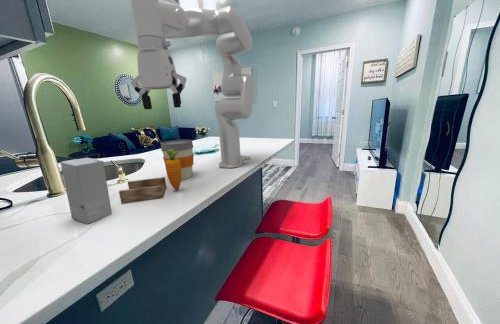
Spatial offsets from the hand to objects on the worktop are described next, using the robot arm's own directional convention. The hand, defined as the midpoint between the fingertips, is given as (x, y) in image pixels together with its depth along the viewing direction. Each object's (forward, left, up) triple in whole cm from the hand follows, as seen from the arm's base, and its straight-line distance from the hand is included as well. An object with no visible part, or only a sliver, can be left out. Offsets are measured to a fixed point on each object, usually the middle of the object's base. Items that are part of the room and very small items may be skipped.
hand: (162, 108), depth 64 cm
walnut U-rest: (+10, -1, -28) cm, 30 cm away
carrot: (0, -1, -28) cm, 28 cm away
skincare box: (+21, +10, -28) cm, 36 cm away
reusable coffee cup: (-1, -18, -28) cm, 33 cm away
